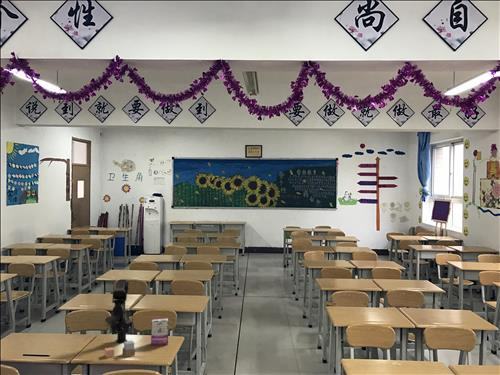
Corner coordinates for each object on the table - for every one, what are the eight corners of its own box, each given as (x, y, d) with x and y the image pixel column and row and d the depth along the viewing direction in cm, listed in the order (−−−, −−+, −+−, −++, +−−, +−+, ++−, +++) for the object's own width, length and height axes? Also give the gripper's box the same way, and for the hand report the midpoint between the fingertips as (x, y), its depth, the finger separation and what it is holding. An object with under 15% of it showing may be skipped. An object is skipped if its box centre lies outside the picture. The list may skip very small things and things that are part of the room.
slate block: (123, 348, 276) (123, 341, 276) (131, 346, 278) (131, 340, 279) (126, 350, 272) (126, 344, 272) (134, 349, 274) (134, 342, 274)
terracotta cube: (104, 355, 273) (104, 348, 273) (111, 354, 275) (111, 347, 275) (106, 358, 269) (106, 350, 269) (113, 356, 271) (114, 349, 271)
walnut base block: (122, 354, 276) (122, 348, 276) (131, 352, 279) (131, 346, 279) (125, 357, 271) (125, 351, 271) (134, 355, 274) (135, 349, 274)
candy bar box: (167, 342, 299) (168, 318, 299) (168, 344, 294) (168, 320, 294) (151, 343, 297) (151, 318, 297) (150, 345, 292) (151, 321, 292)
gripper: (98, 310, 271) (98, 335, 271) (118, 315, 261) (118, 342, 261) (113, 306, 281) (112, 331, 281) (133, 311, 271) (132, 337, 271)
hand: (118, 335), depth 273 cm, fingers open, 9 cm apart
